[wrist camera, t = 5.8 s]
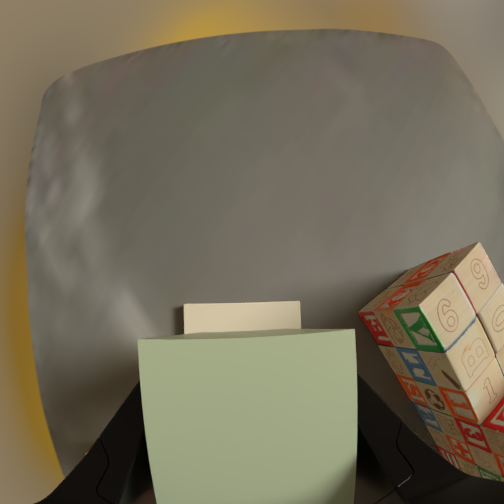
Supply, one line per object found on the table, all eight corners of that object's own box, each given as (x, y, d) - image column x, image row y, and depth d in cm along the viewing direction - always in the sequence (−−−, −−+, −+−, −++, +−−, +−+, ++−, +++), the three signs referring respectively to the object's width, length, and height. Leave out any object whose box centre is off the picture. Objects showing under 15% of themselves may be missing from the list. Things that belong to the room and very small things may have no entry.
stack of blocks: (353, 312, 23) (453, 296, 11) (408, 267, 24) (514, 222, 12) (453, 481, 19) (533, 524, 7) (495, 436, 20) (580, 460, 8)
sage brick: (290, 411, 15) (353, 507, 5) (203, 416, 15) (160, 519, 5) (286, 328, 16) (354, 328, 6) (198, 332, 16) (137, 339, 6)
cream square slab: (299, 407, 21) (303, 412, 20) (191, 410, 21) (188, 416, 20) (296, 302, 23) (299, 300, 22) (187, 305, 23) (183, 303, 21)
